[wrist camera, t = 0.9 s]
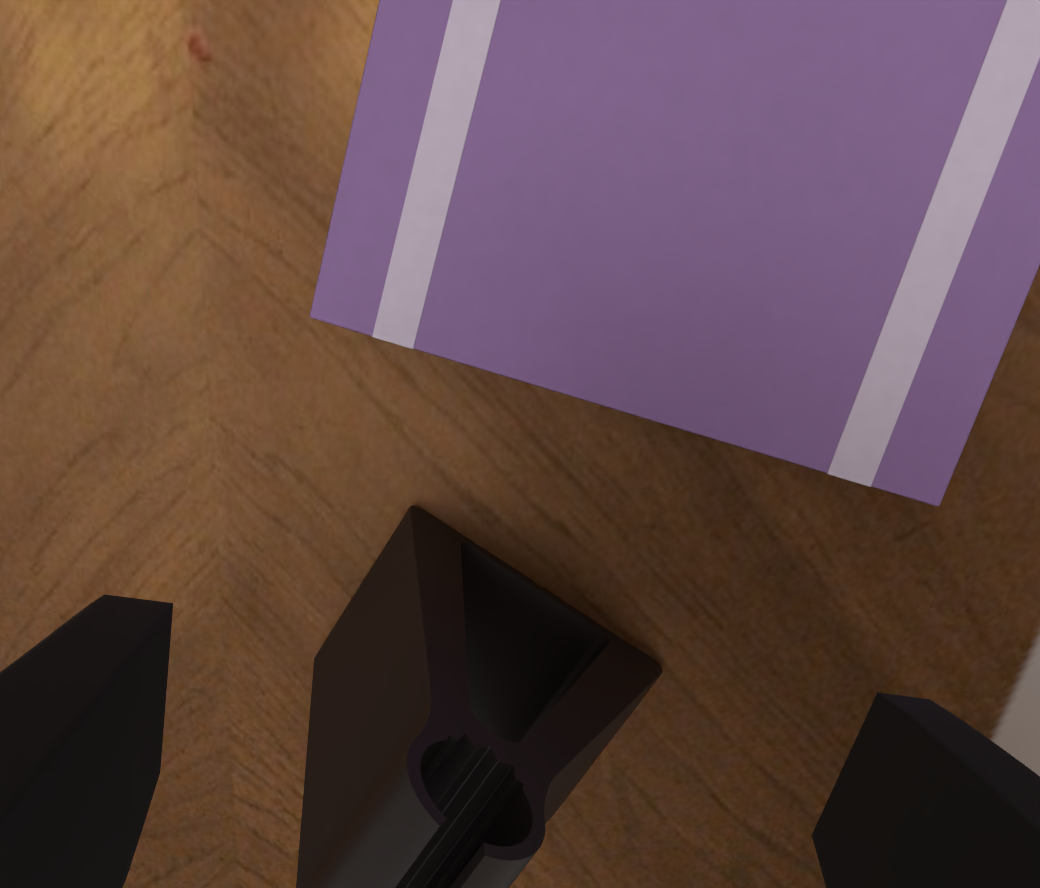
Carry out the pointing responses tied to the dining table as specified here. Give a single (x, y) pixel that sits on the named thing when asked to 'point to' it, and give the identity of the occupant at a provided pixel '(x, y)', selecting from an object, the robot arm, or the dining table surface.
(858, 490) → the dining table surface
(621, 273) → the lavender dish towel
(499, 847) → the phone stand
